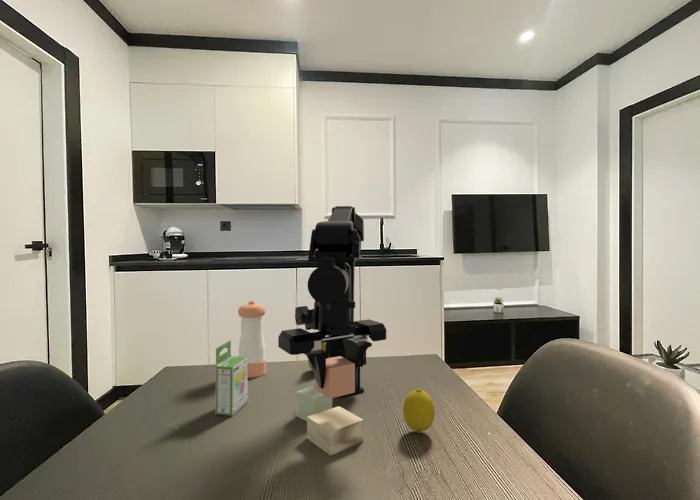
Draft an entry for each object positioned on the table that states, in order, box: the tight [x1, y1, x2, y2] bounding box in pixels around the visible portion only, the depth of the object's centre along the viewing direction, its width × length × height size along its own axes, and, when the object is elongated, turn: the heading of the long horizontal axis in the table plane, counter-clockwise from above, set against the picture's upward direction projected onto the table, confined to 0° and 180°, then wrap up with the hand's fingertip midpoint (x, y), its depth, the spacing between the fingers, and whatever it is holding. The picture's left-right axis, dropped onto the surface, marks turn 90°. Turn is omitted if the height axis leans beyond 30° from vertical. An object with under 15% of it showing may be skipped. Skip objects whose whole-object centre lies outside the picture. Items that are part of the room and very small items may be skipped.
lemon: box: [402, 388, 436, 434], centre depth 67 cm, size 6×6×8 cm
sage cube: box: [296, 384, 333, 422], centre depth 74 cm, size 5×5×5 cm
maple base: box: [306, 406, 364, 456], centre depth 65 cm, size 7×7×4 cm
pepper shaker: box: [237, 300, 267, 379], centre depth 99 cm, size 7×7×19 cm
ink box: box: [214, 339, 249, 417], centre depth 78 cm, size 7×4×13 cm, turn 172°
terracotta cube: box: [315, 356, 356, 399], centre depth 65 cm, size 5×5×5 cm
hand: (334, 384), depth 65 cm, fingers closed on terracotta cube, 5 cm apart
